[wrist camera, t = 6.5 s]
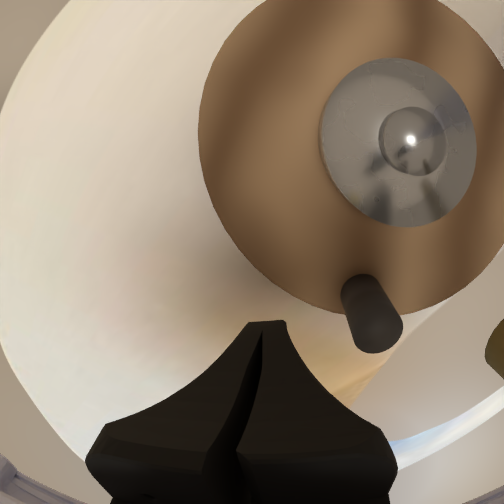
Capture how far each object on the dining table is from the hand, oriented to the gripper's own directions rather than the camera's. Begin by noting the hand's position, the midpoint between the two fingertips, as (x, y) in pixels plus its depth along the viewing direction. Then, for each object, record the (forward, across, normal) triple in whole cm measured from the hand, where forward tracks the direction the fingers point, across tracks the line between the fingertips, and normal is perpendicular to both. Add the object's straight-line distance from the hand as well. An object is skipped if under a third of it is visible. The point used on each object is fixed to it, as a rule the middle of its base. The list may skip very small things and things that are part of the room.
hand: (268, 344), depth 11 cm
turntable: (+8, -7, -7) cm, 13 cm away
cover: (+6, -7, -7) cm, 11 cm away
